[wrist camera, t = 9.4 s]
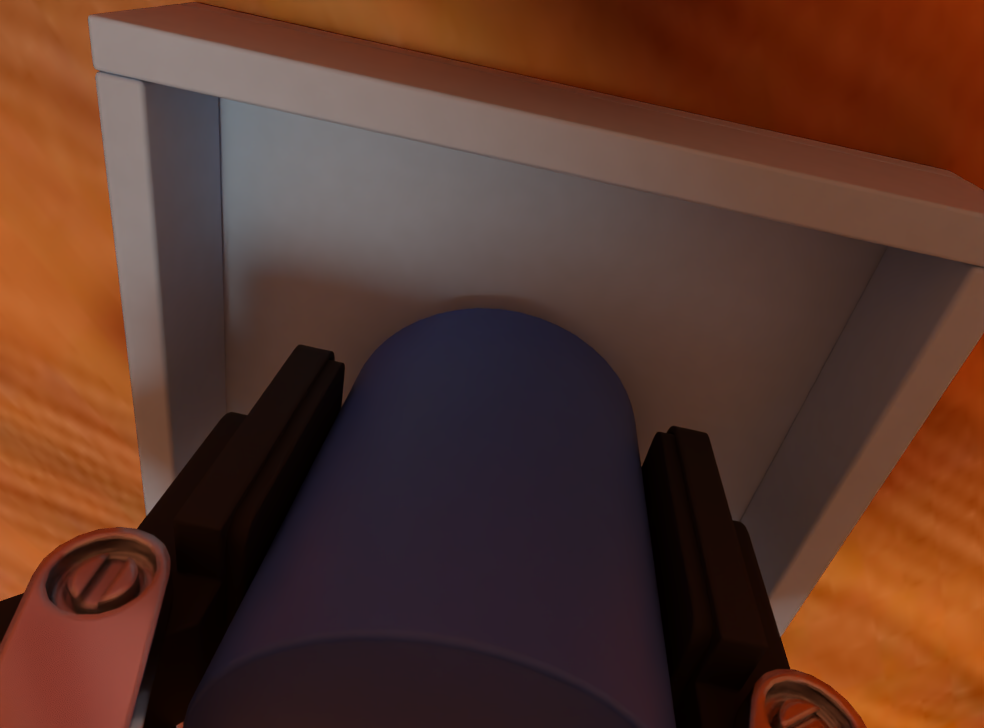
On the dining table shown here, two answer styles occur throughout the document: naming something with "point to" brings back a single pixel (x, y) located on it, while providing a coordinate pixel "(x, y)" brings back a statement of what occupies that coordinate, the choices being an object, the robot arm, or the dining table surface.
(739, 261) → the blue tray
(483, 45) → the dining table surface
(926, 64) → the dining table surface
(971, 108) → the dining table surface
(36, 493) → the dining table surface
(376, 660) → the tabbed navy cylinder
